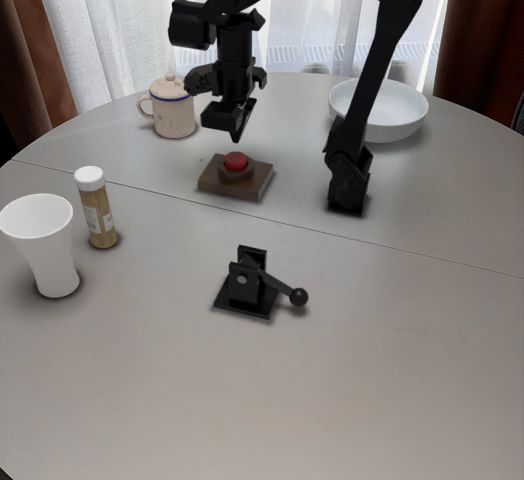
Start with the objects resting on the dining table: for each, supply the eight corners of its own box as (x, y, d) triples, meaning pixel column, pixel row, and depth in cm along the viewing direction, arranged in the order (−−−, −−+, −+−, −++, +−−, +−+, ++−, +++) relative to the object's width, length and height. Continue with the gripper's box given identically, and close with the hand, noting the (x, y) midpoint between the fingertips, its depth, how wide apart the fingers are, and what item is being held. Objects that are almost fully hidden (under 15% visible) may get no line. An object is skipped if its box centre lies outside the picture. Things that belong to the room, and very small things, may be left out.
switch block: (273, 173, 115) (273, 155, 111) (258, 202, 108) (258, 184, 105) (215, 162, 117) (215, 144, 113) (198, 190, 110) (196, 172, 107)
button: (249, 161, 111) (249, 153, 109) (242, 173, 108) (242, 164, 107) (229, 158, 111) (229, 149, 110) (222, 169, 109) (222, 160, 107)
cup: (20, 271, 95) (-8, 202, 84) (84, 255, 98) (65, 187, 87) (30, 314, 89) (2, 245, 78) (98, 296, 92) (79, 227, 81)
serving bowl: (429, 157, 119) (437, 126, 114) (327, 154, 119) (331, 123, 114) (413, 107, 133) (420, 77, 128) (322, 104, 133) (325, 74, 127)
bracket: (281, 291, 93) (283, 249, 86) (268, 321, 89) (270, 279, 82) (228, 279, 95) (226, 236, 88) (213, 308, 90) (211, 266, 84)
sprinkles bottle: (122, 243, 100) (107, 175, 90) (97, 252, 98) (80, 184, 88) (111, 229, 102) (96, 161, 92) (86, 237, 101) (68, 170, 90)
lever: (304, 301, 90) (314, 290, 88) (299, 314, 89) (309, 303, 86) (239, 261, 88) (247, 249, 86) (232, 274, 86) (240, 262, 84)
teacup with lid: (196, 117, 128) (192, 63, 119) (196, 139, 122) (192, 84, 113) (141, 118, 127) (133, 64, 118) (139, 140, 121) (130, 85, 112)
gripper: (207, 25, 101) (211, 110, 113) (166, 71, 90) (175, 161, 101) (269, 34, 99) (266, 120, 111) (234, 82, 88) (235, 172, 100)
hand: (236, 142), depth 106 cm, fingers closed
